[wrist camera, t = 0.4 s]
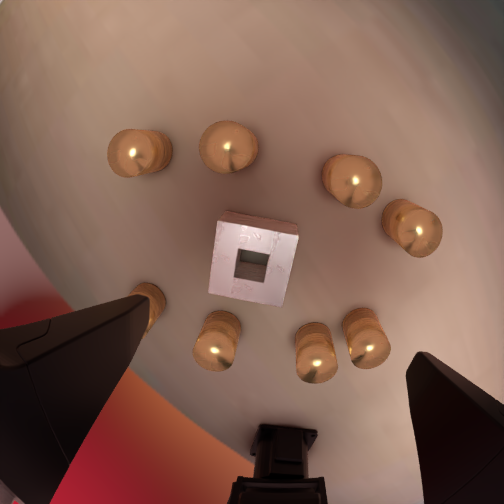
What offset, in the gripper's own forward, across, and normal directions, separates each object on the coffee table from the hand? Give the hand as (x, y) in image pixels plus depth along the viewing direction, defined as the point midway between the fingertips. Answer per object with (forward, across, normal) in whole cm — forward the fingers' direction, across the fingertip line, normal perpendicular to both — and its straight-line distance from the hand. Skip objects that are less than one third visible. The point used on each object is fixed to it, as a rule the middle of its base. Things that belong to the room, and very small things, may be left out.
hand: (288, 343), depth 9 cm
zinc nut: (+13, +2, +2) cm, 13 cm away
